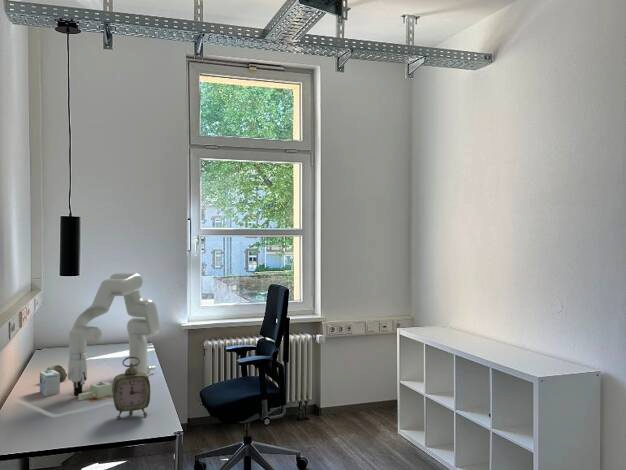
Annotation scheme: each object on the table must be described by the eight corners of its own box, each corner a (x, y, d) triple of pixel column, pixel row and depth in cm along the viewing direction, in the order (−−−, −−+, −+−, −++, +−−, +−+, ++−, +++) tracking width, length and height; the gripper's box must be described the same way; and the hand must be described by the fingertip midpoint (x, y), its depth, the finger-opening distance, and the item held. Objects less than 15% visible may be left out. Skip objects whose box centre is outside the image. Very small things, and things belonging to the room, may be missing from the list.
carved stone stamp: (56, 383, 289) (48, 365, 290) (44, 390, 292) (36, 373, 293) (71, 377, 300) (63, 360, 301) (58, 384, 302) (51, 368, 303)
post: (101, 394, 266) (101, 381, 266) (103, 395, 265) (103, 382, 265) (97, 395, 265) (97, 382, 265) (99, 395, 263) (99, 383, 263)
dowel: (94, 398, 259) (94, 393, 259) (96, 399, 258) (96, 393, 258) (92, 399, 258) (92, 393, 258) (93, 399, 257) (93, 394, 257)
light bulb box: (39, 393, 272) (39, 371, 272) (54, 391, 277) (53, 369, 277) (45, 398, 264) (45, 375, 264) (60, 395, 268) (60, 373, 269)
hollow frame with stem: (104, 392, 270) (104, 381, 270) (111, 394, 265) (111, 384, 265) (75, 398, 259) (75, 387, 259) (83, 401, 255) (83, 390, 255)
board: (110, 387, 284) (110, 384, 284) (134, 394, 269) (134, 392, 269) (67, 396, 267) (67, 394, 267) (91, 405, 253) (91, 402, 253)
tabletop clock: (113, 421, 230) (113, 360, 230) (112, 415, 238) (112, 356, 238) (150, 417, 235) (150, 357, 236) (147, 411, 244) (147, 353, 244)
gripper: (62, 355, 264) (62, 394, 264) (77, 359, 254) (77, 400, 254) (77, 352, 269) (78, 391, 269) (93, 356, 260) (93, 396, 259)
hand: (78, 395), depth 261 cm, fingers closed
